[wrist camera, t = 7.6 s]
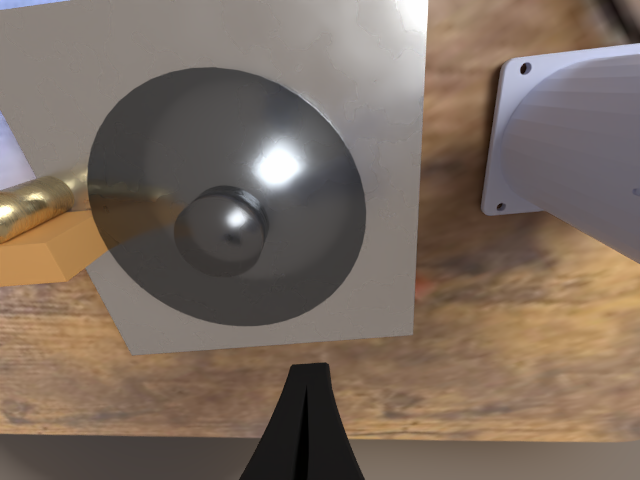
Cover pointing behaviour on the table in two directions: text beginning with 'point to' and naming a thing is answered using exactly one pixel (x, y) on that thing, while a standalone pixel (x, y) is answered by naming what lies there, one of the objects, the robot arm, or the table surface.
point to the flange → (210, 201)
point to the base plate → (238, 54)
